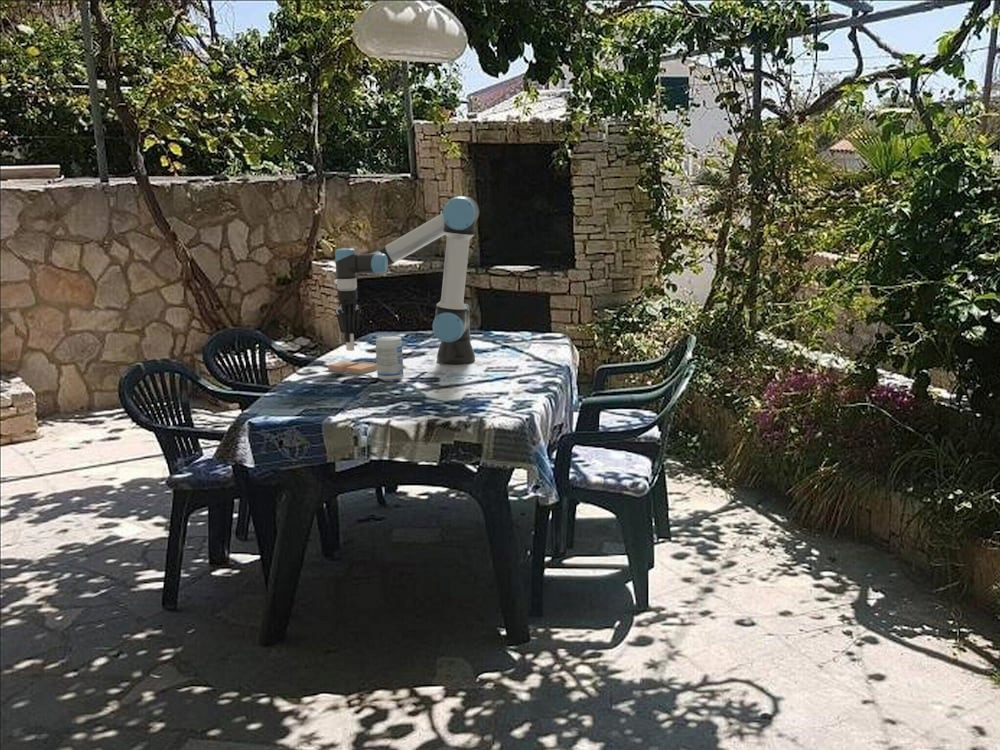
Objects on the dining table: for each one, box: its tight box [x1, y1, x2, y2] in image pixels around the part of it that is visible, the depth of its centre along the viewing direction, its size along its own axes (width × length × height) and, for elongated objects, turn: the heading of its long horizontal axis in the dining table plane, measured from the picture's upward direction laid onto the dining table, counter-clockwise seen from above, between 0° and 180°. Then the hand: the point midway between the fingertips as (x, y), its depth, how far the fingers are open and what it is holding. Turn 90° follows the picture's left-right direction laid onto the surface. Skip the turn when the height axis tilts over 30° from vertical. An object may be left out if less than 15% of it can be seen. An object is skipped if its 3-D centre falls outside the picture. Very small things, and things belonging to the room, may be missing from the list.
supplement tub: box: [375, 336, 404, 380], centre depth 321 cm, size 10×10×15 cm
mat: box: [322, 361, 377, 377], centre depth 339 cm, size 17×22×1 cm
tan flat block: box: [327, 360, 359, 372], centre depth 338 cm, size 7×2×9 cm
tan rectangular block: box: [347, 363, 377, 375], centre depth 333 cm, size 7×2×9 cm
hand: (350, 350), depth 341 cm, fingers closed
